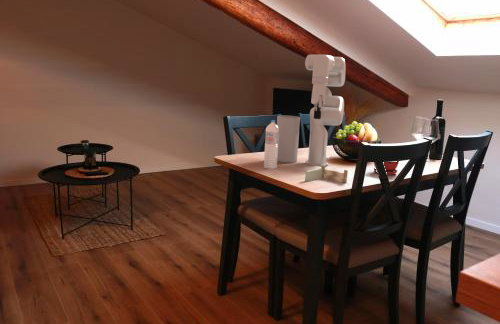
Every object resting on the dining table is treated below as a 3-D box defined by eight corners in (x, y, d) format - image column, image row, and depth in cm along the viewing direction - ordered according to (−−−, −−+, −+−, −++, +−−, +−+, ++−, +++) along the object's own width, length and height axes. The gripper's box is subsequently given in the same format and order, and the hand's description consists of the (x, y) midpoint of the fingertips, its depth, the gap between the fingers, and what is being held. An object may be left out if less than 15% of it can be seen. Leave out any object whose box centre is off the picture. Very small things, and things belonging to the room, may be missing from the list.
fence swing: (319, 177, 198) (320, 168, 197) (322, 178, 197) (322, 168, 196) (304, 180, 191) (305, 171, 190) (307, 181, 189) (307, 171, 188)
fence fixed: (319, 177, 199) (320, 165, 198) (321, 177, 200) (323, 164, 199) (345, 183, 190) (346, 170, 188) (347, 183, 191) (348, 170, 190)
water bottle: (260, 168, 216) (263, 119, 210) (270, 166, 220) (273, 119, 215) (269, 171, 211) (272, 121, 205) (279, 169, 215) (282, 120, 210)
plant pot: (392, 170, 224) (394, 148, 222) (401, 176, 212) (404, 153, 209) (367, 169, 224) (370, 147, 222) (375, 175, 211) (378, 152, 209)
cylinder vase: (297, 163, 231) (301, 118, 226) (275, 162, 231) (277, 117, 226) (295, 159, 243) (299, 116, 238) (274, 158, 243) (277, 115, 238)
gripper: (309, 80, 210) (306, 117, 214) (315, 80, 195) (312, 120, 199) (324, 81, 210) (321, 117, 214) (331, 81, 195) (327, 120, 199)
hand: (317, 118), depth 206 cm, fingers closed
